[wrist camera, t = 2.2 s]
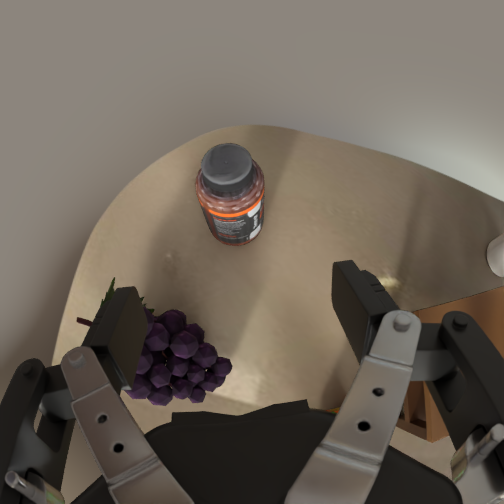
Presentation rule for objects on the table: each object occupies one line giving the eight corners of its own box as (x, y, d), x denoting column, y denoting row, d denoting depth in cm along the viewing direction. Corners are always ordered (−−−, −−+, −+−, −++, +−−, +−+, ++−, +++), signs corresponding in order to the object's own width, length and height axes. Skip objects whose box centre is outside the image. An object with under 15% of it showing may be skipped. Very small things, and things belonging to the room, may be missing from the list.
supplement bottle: (272, 235, 33) (278, 180, 22) (219, 255, 33) (201, 208, 22) (251, 190, 35) (248, 125, 24) (202, 208, 34) (179, 148, 24)
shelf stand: (465, 299, 30) (507, 284, 23) (477, 393, 27) (519, 396, 19) (383, 320, 30) (418, 310, 22) (395, 426, 26) (432, 443, 19)
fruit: (214, 397, 31) (83, 362, 28) (235, 304, 32) (100, 269, 30) (225, 441, 21) (45, 392, 18) (256, 315, 22) (63, 264, 20)
